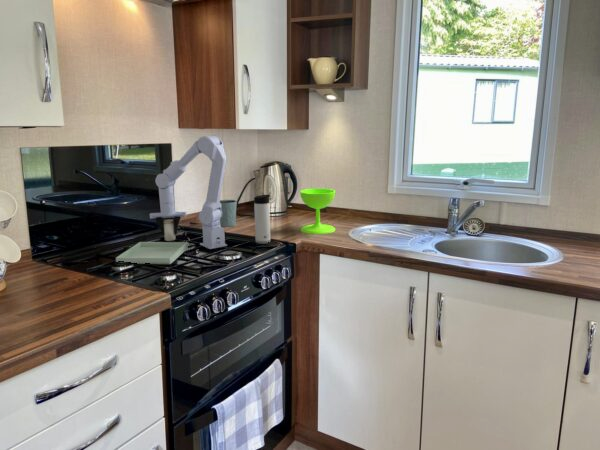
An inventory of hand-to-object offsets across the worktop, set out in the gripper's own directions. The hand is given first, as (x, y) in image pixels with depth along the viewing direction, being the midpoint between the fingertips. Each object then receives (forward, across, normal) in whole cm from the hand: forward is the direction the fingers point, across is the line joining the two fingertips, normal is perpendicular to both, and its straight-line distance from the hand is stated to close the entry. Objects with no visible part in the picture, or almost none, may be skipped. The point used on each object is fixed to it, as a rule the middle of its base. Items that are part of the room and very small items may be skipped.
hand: (169, 234), depth 200 cm
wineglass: (+4, -65, -12) cm, 66 cm away
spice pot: (+2, 0, 0) cm, 2 cm away
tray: (+3, +4, +18) cm, 19 cm away
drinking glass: (+4, -23, -28) cm, 37 cm away
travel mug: (+4, -39, +5) cm, 39 cm away
